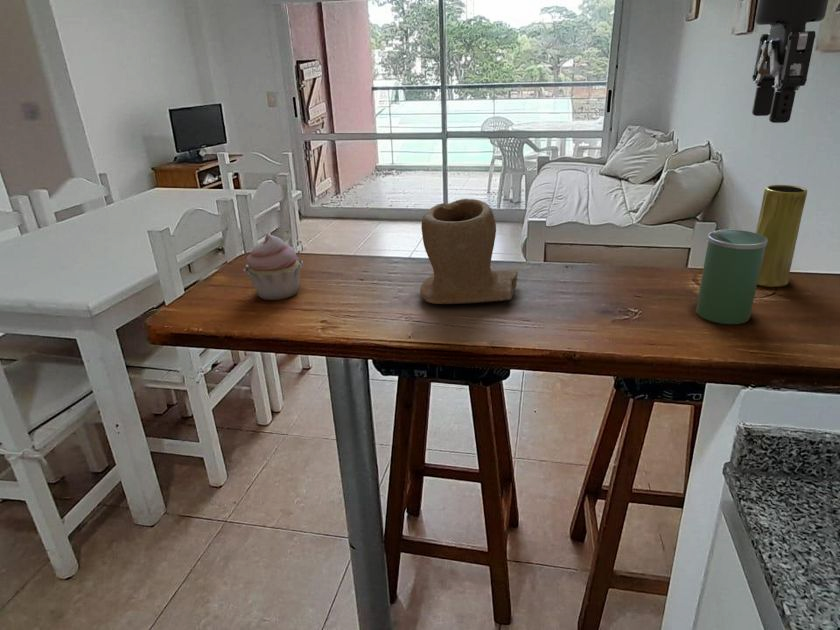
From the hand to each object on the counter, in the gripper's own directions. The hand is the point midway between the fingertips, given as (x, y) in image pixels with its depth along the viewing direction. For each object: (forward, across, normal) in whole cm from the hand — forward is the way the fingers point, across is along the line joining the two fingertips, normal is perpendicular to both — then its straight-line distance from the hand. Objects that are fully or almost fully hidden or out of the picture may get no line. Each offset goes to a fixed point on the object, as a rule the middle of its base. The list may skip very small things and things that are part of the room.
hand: (769, 118), depth 77 cm
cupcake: (+24, -14, +70) cm, 75 cm away
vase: (+24, +3, -5) cm, 25 cm away
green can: (+24, -11, +4) cm, 27 cm away
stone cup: (+24, -11, +39) cm, 47 cm away
